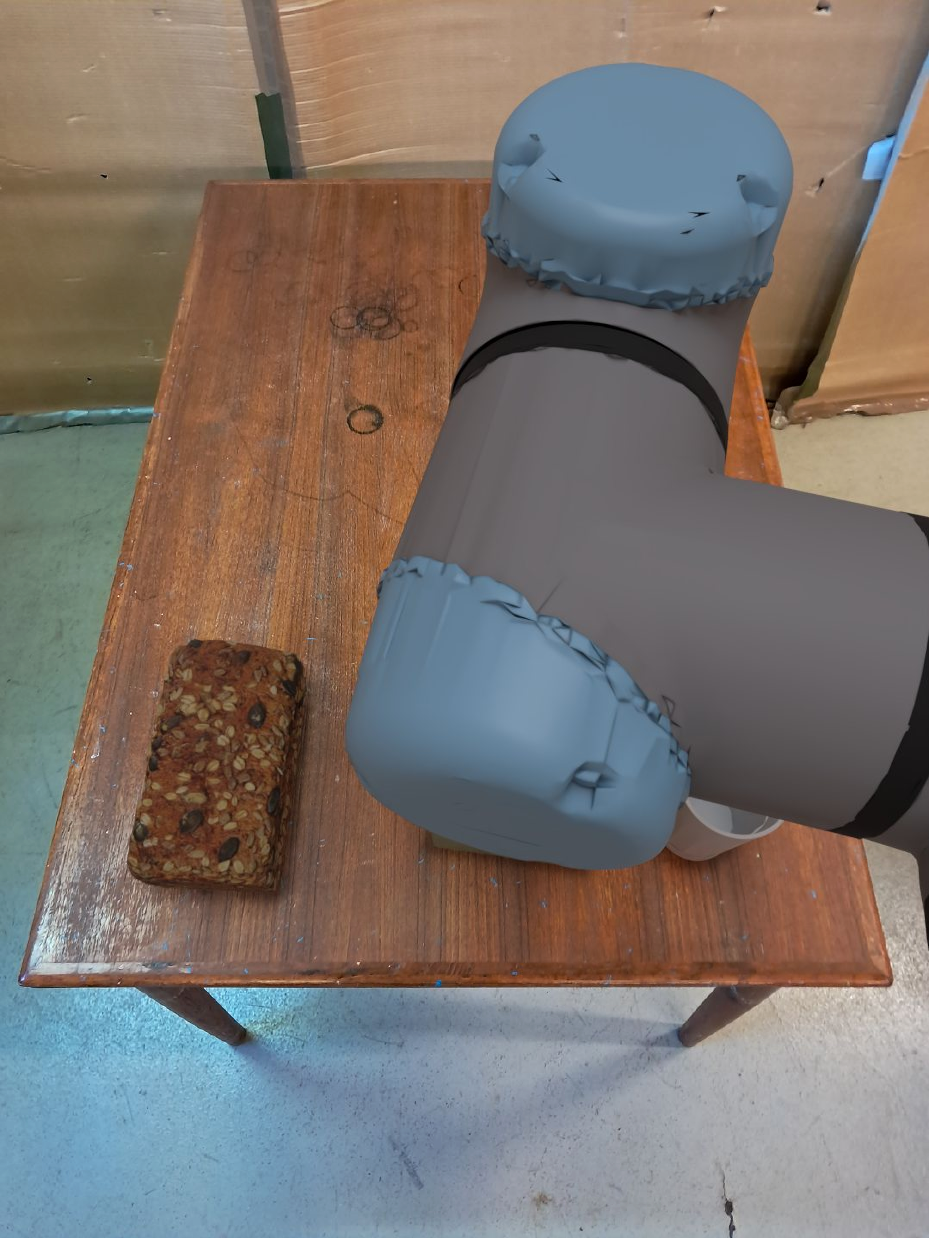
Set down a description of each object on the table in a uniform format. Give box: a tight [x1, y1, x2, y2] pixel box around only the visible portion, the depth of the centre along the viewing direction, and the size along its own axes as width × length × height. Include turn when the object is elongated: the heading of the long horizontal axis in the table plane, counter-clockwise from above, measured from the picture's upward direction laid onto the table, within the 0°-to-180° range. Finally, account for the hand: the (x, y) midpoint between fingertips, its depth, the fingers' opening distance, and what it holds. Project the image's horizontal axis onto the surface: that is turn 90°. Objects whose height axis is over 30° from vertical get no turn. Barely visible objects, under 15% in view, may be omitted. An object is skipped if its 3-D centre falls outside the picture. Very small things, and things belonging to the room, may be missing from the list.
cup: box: [665, 797, 785, 862], centre depth 62 cm, size 8×8×12 cm
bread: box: [126, 638, 307, 893], centre depth 65 cm, size 19×11×10 cm, turn 177°
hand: (529, 712), depth 54 cm, fingers closed on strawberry, 4 cm apart
